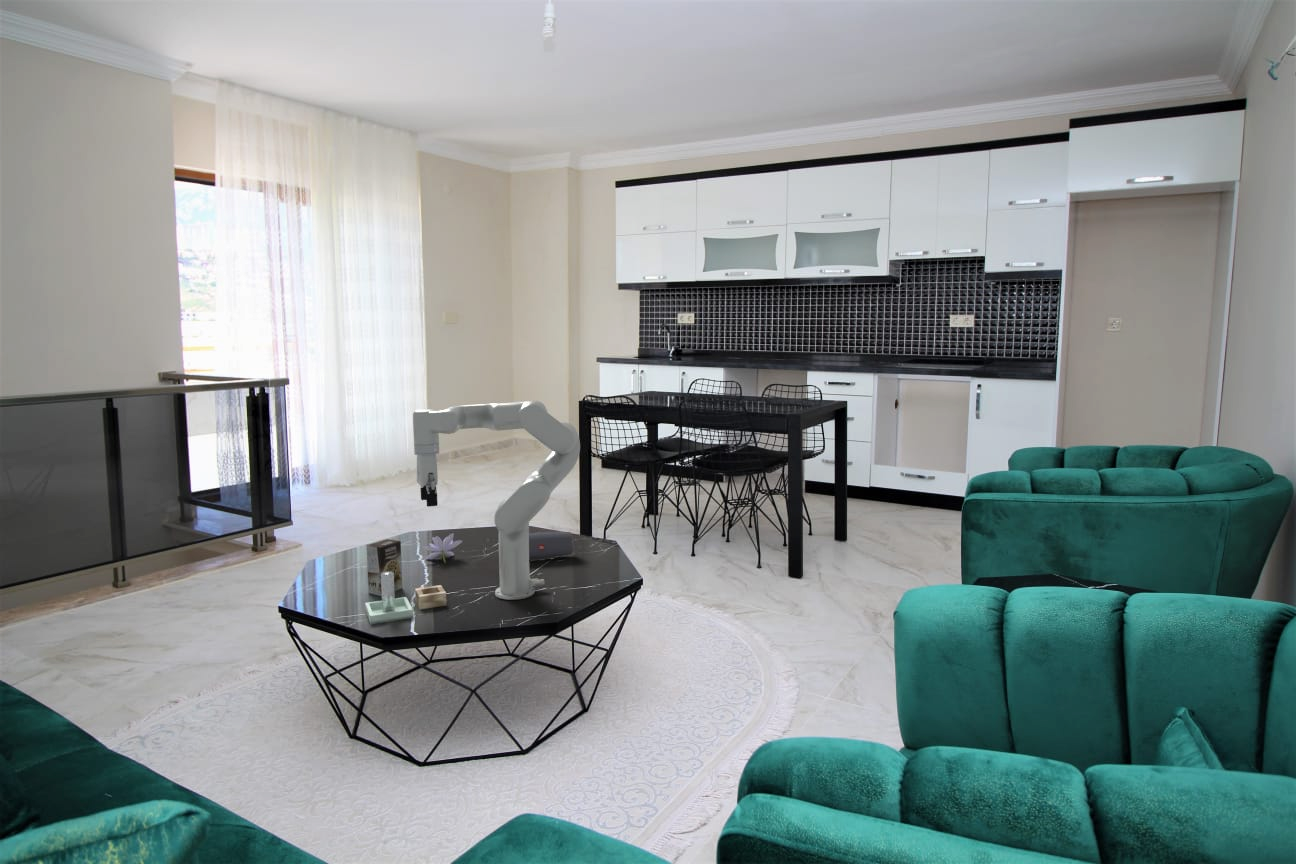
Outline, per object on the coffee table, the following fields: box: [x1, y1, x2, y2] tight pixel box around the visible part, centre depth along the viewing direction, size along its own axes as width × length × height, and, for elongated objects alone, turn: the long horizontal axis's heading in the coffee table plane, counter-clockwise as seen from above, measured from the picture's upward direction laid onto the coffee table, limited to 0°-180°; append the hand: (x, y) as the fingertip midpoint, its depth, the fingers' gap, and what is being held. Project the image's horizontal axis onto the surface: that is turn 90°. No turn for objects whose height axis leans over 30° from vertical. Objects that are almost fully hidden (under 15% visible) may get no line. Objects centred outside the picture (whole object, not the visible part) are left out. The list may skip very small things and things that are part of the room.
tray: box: [364, 596, 414, 625], centre depth 236 cm, size 12×12×2 cm
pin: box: [381, 572, 396, 613], centre depth 235 cm, size 4×4×12 cm
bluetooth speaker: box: [529, 531, 574, 561], centre depth 290 cm, size 23×9×10 cm, turn 104°
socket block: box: [414, 584, 447, 610], centre depth 245 cm, size 8×8×4 cm
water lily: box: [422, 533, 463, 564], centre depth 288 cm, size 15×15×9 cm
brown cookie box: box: [366, 538, 403, 597], centre depth 255 cm, size 9×6×16 cm
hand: (429, 502), depth 248 cm, fingers open, 9 cm apart
